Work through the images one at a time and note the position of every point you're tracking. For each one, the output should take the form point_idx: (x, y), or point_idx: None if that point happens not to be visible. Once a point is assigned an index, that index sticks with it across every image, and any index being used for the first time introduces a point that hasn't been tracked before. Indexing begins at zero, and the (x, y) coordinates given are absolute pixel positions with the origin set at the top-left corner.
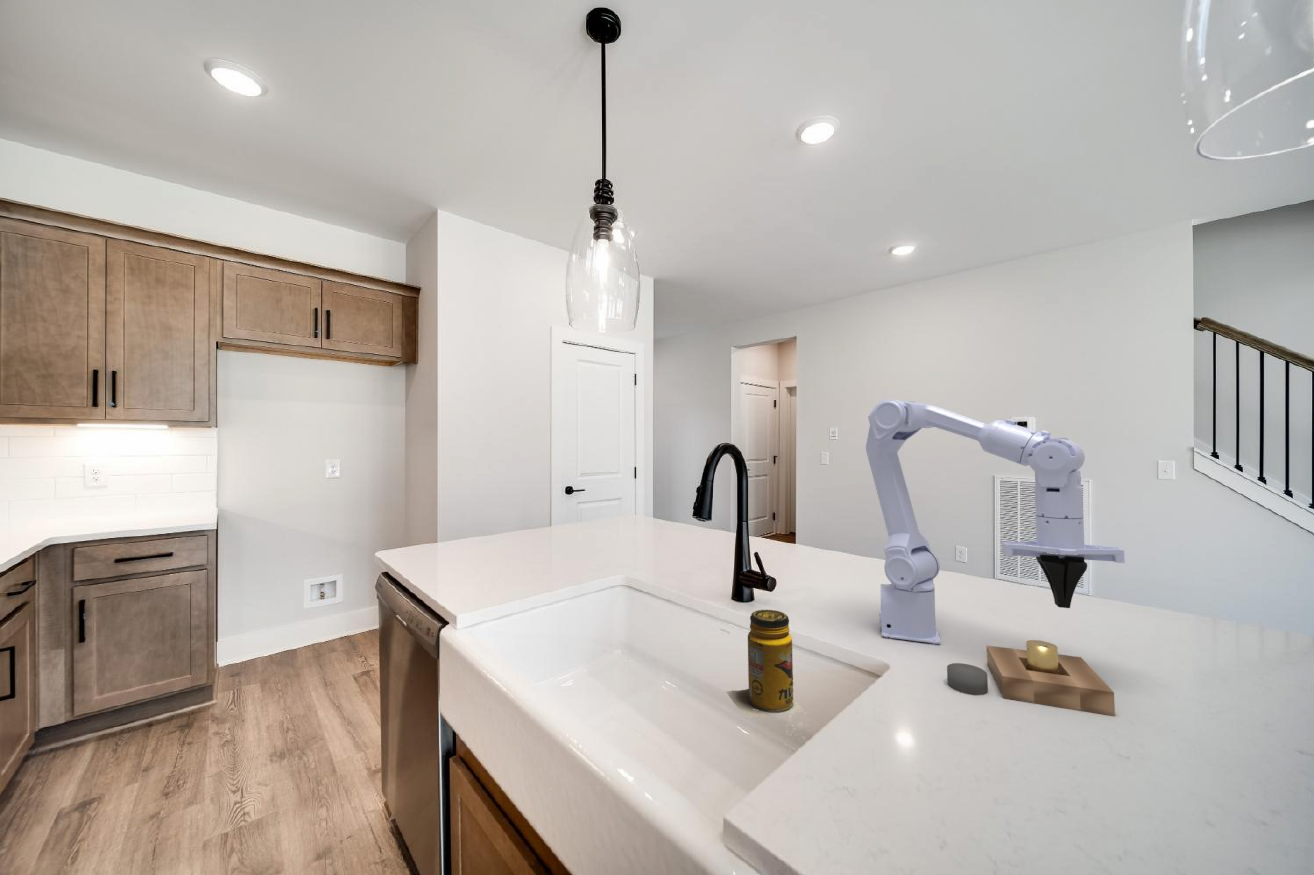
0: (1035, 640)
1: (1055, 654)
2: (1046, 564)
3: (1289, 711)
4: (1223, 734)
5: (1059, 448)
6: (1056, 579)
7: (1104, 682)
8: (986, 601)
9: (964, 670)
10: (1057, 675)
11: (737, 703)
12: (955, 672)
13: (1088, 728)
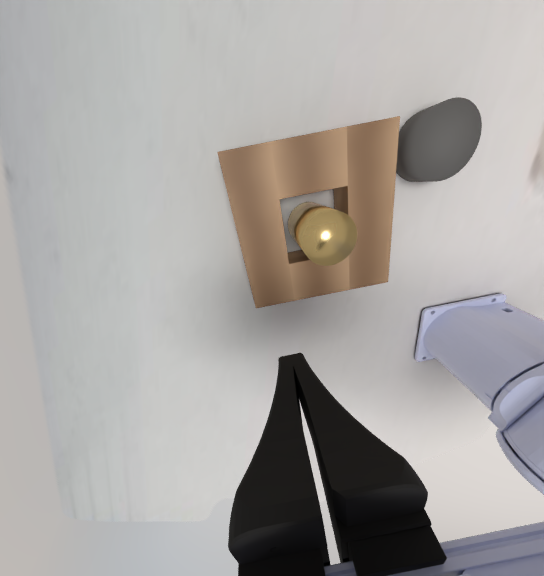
0: (336, 261)
1: (305, 222)
2: (414, 476)
3: (42, 318)
4: (93, 179)
5: None
6: (334, 417)
7: (229, 200)
8: None
9: (451, 138)
10: (300, 188)
11: None
12: (472, 113)
13: (262, 62)
